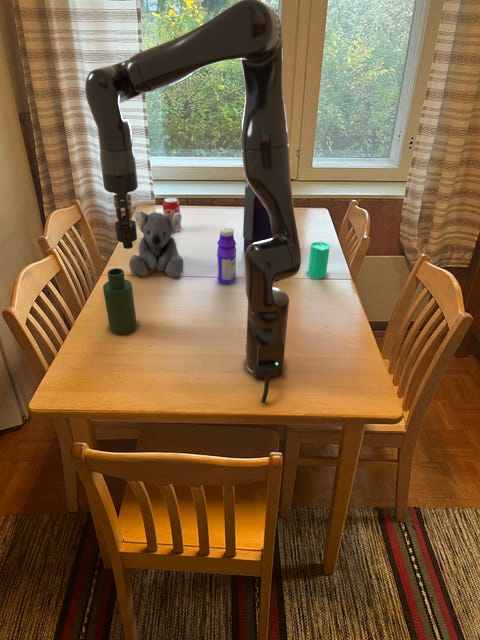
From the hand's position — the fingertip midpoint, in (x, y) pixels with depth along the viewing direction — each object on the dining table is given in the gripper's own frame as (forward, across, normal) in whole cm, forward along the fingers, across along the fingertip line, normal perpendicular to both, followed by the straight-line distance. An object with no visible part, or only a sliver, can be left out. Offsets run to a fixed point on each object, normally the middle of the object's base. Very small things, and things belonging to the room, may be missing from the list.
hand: (127, 238), depth 115 cm
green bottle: (+26, 0, -4) cm, 26 cm away
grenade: (+26, -36, +44) cm, 63 cm away
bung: (+2, 0, 0) cm, 2 cm away
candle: (+26, -19, +59) cm, 67 cm away
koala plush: (+26, -34, +9) cm, 44 cm away
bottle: (+26, -20, +29) cm, 44 cm away
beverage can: (+27, -64, +16) cm, 71 cm away
